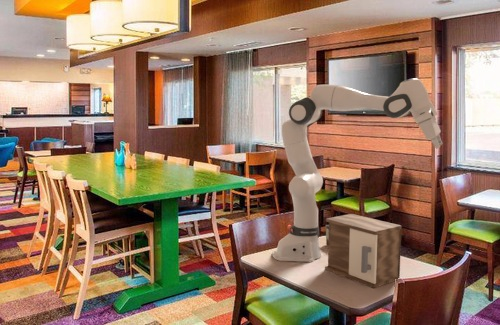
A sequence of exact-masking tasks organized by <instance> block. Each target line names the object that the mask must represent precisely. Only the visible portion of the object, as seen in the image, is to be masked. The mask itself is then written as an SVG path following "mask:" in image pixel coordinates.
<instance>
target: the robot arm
mask: <svg viewBox="0 0 500 325" xmlns="http://www.w3.org/2000/svg"><path fill="white" fill-rule="evenodd" d="M309 95H310V96H309V97H304V98H300V99H298V100H297V101H295V102H293V103H292V104H291V105H290V107H289V110H288V116H289V118H290V119H288V120H285V121H284V123H282V125H281V136H282V137H281V138H282V143H283V146H284V150H285V154H286V159H287V162H288V164H289V165H290V166H291V169H292V170H293V172H294V174H295V175H294V176H293V177H292V179H291V180H290V181H289V185H288V191H289V193H290V195H291V198H292V204H293V205H292V206H293V225H292V224H288V225H287V230H289V233H288V234H286V235H285V236H284V237H283V238H281V239H279V241H278V244H277V248H276V249H274V250H273V251H272V254H271V255H272V257H273V259H275V260H276V261H280V262H307V263H308V262H309V263H310V262H311V263H312V262H313V261H314V260H317V259H319V258H321V257H322V254H321V250H320V245H319V236H320V227H319V208H318V206H317V202H316V201H317V200H316V193H318V192H319V191H321V189H322V187H323V184H324V179H323V176H322V174H320V172H319V170H318V167H317V165H316V163H315V161H314V157H313V155H312V151H311V148H310V143H309V141H308V137H307V128H309V127H310V126H313V125H314V124H315V123H317V122H318V121H319V119H320V118H321V117H322V114H323V110H327V111H328V110H329V111H335V112H351V111H355V110H356V111H357V110H361V109H362V110H365V109H367V110H375V111H376V110H377V111H383V112H384V114H385V115H386V116H387V117H389V118H391V119H398V118H405V117H407V116H409V115H410V114H411V115H412V118H413V119H414V122H415V123H416V124H418V126H419V129H420V130H421V131H422V133H423V135H424V137H425V138H426V140H430V141H431V143H432V145H433V147H434V148H435V149H440V147H441V146H442V145H443V141H442V138H441V134H440V133H441V132H442V130H441V128H440V126H439V124H438V122H437V118H436V116H437V115H438V112H437V110H436V108H435V106H434V104H433V102H432V101H431V99H430V97H429V93H428V90H427V88H426V86H425V85H424V83H423V82H422V80H421V79H419V78H415V77H414V78H409V79H406V80H403V81H401V82H400V83H399V85H398V87H397V88H396V90H395V91H394V92H393V93H392V94H390V95H389V96H387V95H386V96H385V95H376V94H369V93H366V92H362V91H360V90H357V89H354V88H352V87H348V86H345V85H338V84H317V85H315V86H313V88H312V90H311V92H310V94H309Z"/></svg>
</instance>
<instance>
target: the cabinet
mask: <svg viewBox="0 0 500 325" xmlns="http://www.w3.org/2000/svg"><path fill="white" fill-rule="evenodd" d="M325 222H326V223H328V225H329V241H328V246H327V248H328V251H327V252H328V255H327V265H326V266H324V270H326V271H329V272H331V273H334V274H336V275H338V276H340V277H343V278H347V279H349V280H352V281H354V282H357V283H359V284H363V285H365V286H367V287H369V288H373V289H375V288H377V287H378V288H379V287H381V286H383V285H387V284H389V283H393V282H395V279H398V278H401V277H400V276H401V274H400V273H401V268H400V267H401V250H402V248H401V245H402V225H400V224H396V223H391V222H388V221H383V220H380V219H375V218H372V217H367V216H362V215H358V214H354V213H349V214H343V215H339V216H334V217H333V216H332V217H328V218H325ZM350 228H352V229H356V230H359V231H363V232H367V233H370V234H374V235H378V237H377V269H376V284H373V283H370V282H368V281H365V280H363V279H360V278H357V277H355V276H352V275H349V244H350Z"/></svg>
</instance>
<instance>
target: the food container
mask: <svg viewBox="0 0 500 325" xmlns="http://www.w3.org/2000/svg"><path fill="white" fill-rule="evenodd" d="M325 238H326V239H325V241H326V242H325V243H326V246H327V247H328V241H329V224H325Z"/></svg>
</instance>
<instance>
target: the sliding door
mask: <svg viewBox="0 0 500 325" xmlns="http://www.w3.org/2000/svg"><path fill="white" fill-rule="evenodd" d="M377 237H378V235H374V234H370V233H367V232H363V231H359V230H356V229H352V228H350V244H349V275H352V276H355V277H357V278H360V279H363V280H365V281H368V282H370V283H373V284H376V269H377Z"/></svg>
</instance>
